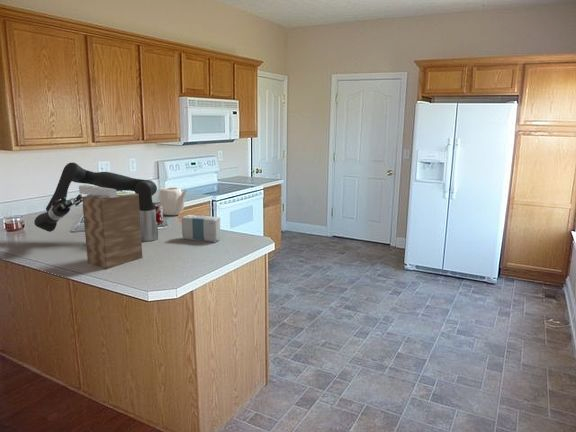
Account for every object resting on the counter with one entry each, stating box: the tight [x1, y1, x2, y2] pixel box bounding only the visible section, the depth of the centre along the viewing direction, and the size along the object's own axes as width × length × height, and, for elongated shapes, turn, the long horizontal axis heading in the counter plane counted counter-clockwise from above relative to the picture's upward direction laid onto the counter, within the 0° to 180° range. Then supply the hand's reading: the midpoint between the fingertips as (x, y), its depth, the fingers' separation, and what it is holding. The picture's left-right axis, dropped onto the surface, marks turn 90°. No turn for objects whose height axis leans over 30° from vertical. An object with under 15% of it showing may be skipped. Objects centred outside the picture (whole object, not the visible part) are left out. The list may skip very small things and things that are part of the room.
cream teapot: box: [158, 186, 188, 216], centre depth 314 cm, size 16×27×19 cm, turn 59°
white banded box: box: [181, 205, 221, 242], centre depth 249 cm, size 21×8×20 cm, turn 73°
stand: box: [81, 190, 143, 270], centre depth 209 cm, size 14×20×32 cm
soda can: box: [155, 203, 164, 225], centre depth 287 cm, size 7×7×12 cm
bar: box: [78, 184, 117, 198], centre depth 203 cm, size 22×4×4 cm, turn 59°
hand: (73, 197), depth 221 cm, fingers open, 8 cm apart
